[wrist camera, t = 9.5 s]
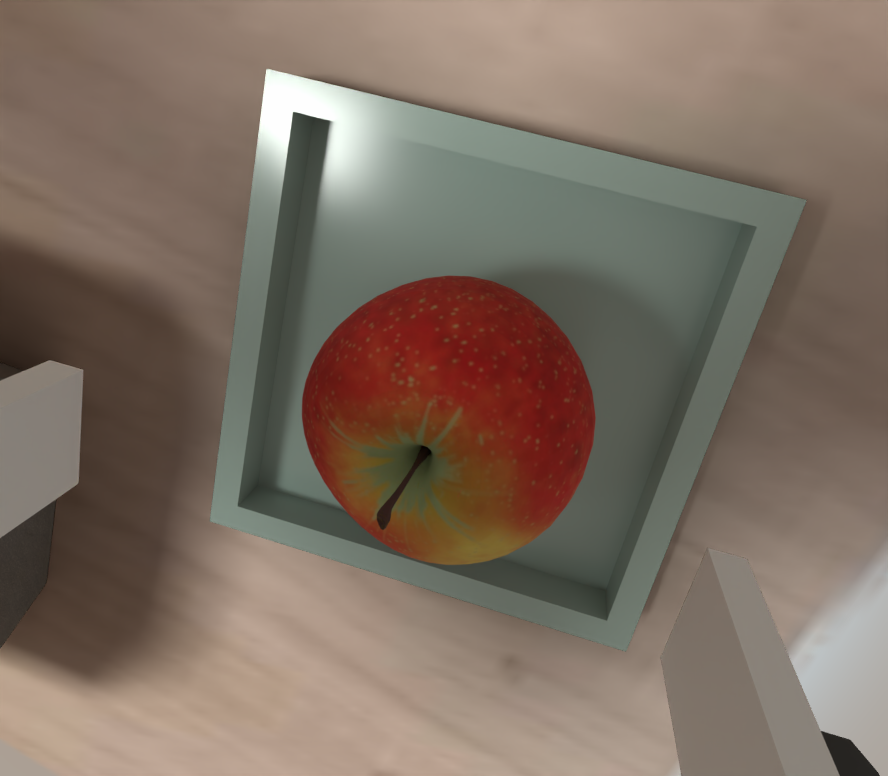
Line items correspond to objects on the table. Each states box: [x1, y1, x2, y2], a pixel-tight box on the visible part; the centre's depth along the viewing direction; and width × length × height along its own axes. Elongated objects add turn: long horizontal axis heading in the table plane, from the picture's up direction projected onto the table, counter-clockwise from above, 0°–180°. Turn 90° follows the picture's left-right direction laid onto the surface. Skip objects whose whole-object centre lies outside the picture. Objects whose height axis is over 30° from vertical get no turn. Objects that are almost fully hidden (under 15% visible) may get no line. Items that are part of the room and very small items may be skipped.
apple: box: [302, 276, 596, 565], centre depth 20 cm, size 8×8×10 cm
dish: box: [210, 69, 807, 652], centre depth 24 cm, size 16×16×2 cm
